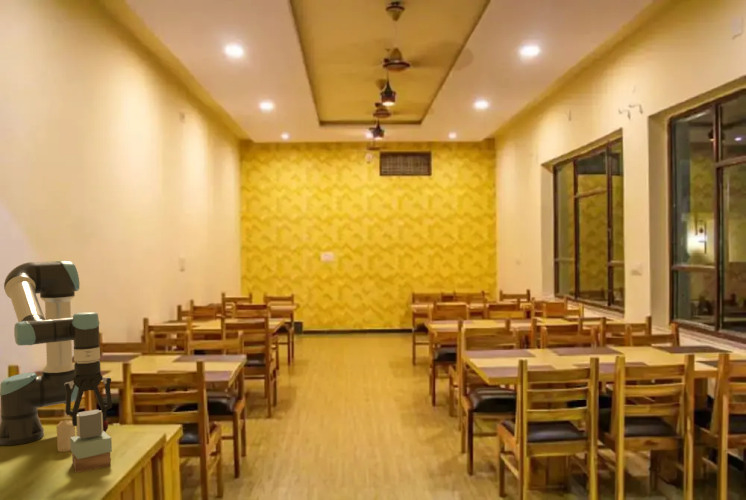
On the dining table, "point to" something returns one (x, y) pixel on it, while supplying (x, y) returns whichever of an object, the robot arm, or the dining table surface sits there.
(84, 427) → the block
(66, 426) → the beige bottle
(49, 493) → the dining table surface
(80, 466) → the tower base
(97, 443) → the tower top
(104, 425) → the apple
